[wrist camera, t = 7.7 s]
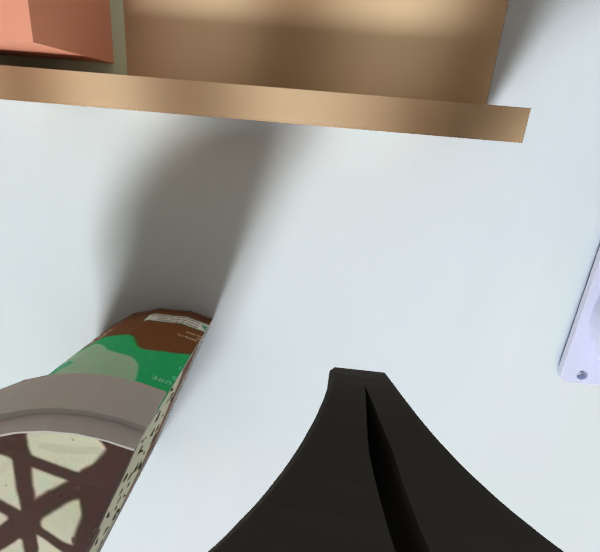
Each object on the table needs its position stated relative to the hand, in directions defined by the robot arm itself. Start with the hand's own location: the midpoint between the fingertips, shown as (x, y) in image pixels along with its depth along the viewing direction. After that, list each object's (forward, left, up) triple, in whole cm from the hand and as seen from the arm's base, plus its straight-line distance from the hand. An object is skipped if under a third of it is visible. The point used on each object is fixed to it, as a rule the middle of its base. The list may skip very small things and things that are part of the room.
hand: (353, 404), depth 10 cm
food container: (+11, +7, -11) cm, 17 cm away
